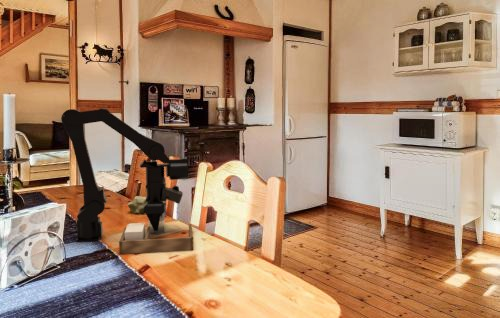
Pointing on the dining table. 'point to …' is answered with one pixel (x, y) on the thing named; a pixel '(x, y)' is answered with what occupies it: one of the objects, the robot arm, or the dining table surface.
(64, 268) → the dining table surface
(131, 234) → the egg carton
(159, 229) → the clear glass jar
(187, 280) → the dining table surface
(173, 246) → the crate
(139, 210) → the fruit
